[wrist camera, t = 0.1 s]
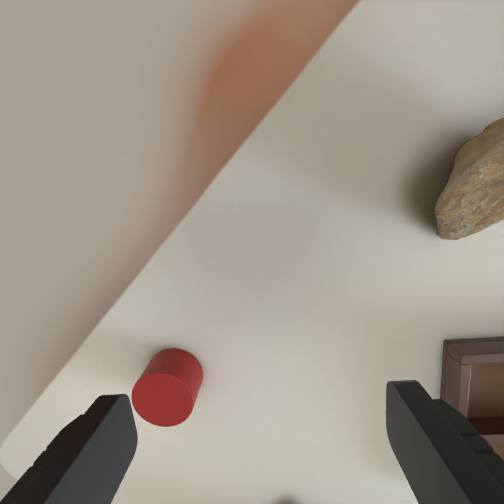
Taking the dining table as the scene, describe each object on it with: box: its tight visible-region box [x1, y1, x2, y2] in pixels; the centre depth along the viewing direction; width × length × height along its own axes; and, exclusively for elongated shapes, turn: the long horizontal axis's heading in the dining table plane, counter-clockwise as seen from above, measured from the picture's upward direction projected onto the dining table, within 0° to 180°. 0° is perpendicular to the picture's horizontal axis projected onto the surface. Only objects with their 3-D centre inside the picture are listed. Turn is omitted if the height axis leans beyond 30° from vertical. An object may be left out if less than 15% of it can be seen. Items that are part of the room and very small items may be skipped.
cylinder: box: [132, 349, 203, 427], centre depth 22 cm, size 5×5×3 cm
